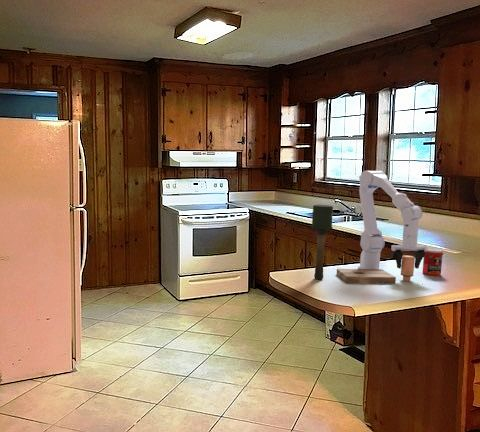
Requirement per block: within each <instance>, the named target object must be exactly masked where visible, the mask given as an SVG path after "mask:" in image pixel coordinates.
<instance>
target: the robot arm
mask: <svg viewBox="0 0 480 432" xmlns="http://www.w3.org/2000/svg"><path fill="white" fill-rule="evenodd" d="M358 178H359V179H358V180H359V189H358V192H359V198H360V199H359V200H360V206H361V207H360V208H361V213H362V220H363V227H364V228H363V229H364V230H363V231H362V232H361V234H360V242H359V245H360V247H361V249H362V251H361V253H360V259H359V263H360V264H359V266H357V269H380V262H381V259H380V258H381V252H382V249H383V248H384V247H385V243H386V242H385V237H384V236H383V233H382V231H381V230H380V229H379V228H378V223H377V222H378V221H377V216H376V209H375V201H374V195H373V194H374V192H375V190H377V189H378V188H379V187H380V188H381V189H382V190H383V191H384V192H385V193H386V194H387V195H388V196H390V198H391V202H392V204H393V205H394V206H395V207H396V208H397V209H398V211H399V212H400V213H401V217H402V223H403V228H402V229H403V231H402V242H401V244H397V245H395V244H393V245H391V249H390V250H391V251H392V254H393V256H394V258H395V262H396V268H398V269H400V270H401V264H402V256H404V253H403V252H405V251H407V252H408V251H409V252H414V257H415V262H414V269H419V267H420V264H421V263H422V260H423V259H424V256H425V253H426V252H424V251H427V248H428V246H426V245H418V236H419V223H420V219H422V217H423V210H422V208H421V206H419V205H415V203H414V202H413V201H411V200H410V199H409V197H408V195H407V194H406V193H404V192H398V190H397V189H396V187H394V185H393V184H392V182H390V180H389V178H388V175H387V174H385V173H384V171H382V170H363V171H362V172H361V174H360V175H359V177H358ZM402 251H403V252H402Z"/></svg>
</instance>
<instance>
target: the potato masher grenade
mask: <svg viewBox="0 0 480 432" xmlns="http://www.w3.org/2000/svg"><path fill="white" fill-rule="evenodd" d="M333 211H334V206H332V205H329V204H314V205H313V207H312V217H311V218H312V221H311V225H310V228H312V229H316V234H317V236H316V245H317V246H316V248H317V249H316V262H315V263H316V265H315V269H314V273H313V274H314V276H313V277H314V279H315V280H318V281H321V280H323V279H324V254H325V253H324V252H325V243H326V233H327V230H333V228H334V227H333Z"/></svg>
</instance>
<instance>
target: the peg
mask: <svg viewBox="0 0 480 432" xmlns="http://www.w3.org/2000/svg"><path fill="white" fill-rule="evenodd" d="M414 271H415V256H413V255H403V256H402V260H401V269H400V275H401V277H402V281H403V280H404V281H403V282H411V277H414V274H415V273H414Z"/></svg>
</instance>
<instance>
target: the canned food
mask: <svg viewBox="0 0 480 432" xmlns="http://www.w3.org/2000/svg"><path fill="white" fill-rule="evenodd" d="M424 252H426V253H425V256H424V257H423V259H422V260H423V262H422V274H424V275H426V276H430V277H439V276H441V274H442V268H443V267H442V266H443V255H444V251H443V249H441V248H437V247H435V248H434V247H427V251H424Z"/></svg>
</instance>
